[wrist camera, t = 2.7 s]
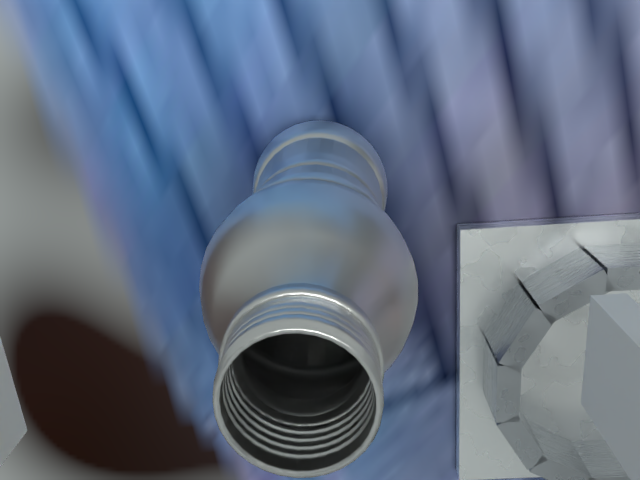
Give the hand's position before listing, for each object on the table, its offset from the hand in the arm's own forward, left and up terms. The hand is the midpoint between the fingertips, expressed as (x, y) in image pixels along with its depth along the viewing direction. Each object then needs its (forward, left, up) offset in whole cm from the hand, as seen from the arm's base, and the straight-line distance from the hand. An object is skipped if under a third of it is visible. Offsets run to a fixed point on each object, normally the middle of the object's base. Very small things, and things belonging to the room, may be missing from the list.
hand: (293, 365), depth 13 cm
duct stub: (-11, -15, -19) cm, 27 cm away
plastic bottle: (0, 0, -19) cm, 19 cm away
